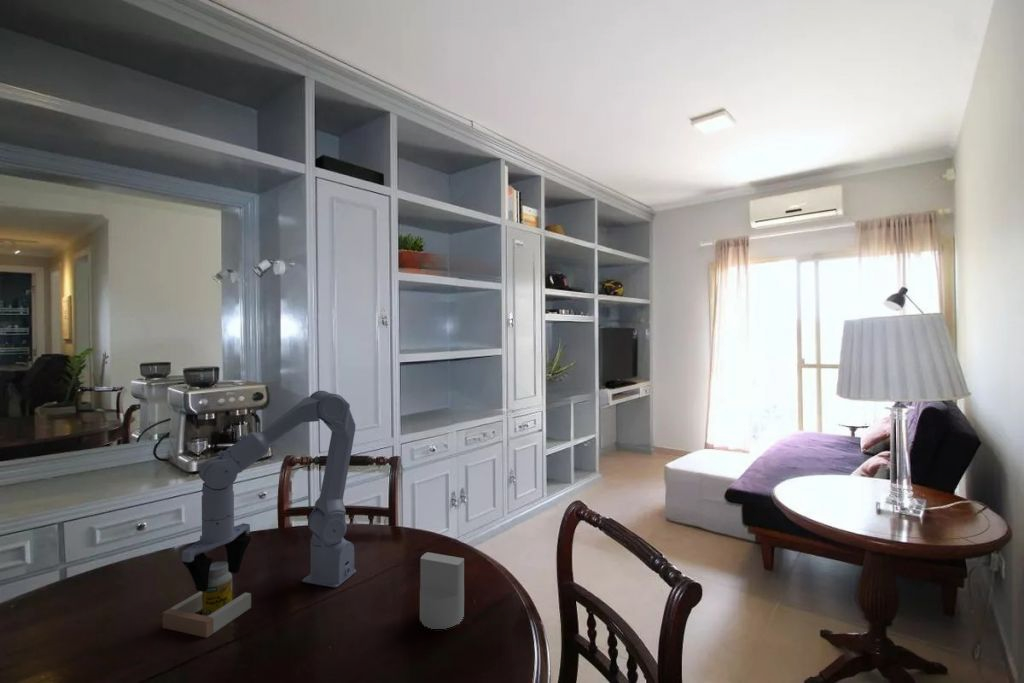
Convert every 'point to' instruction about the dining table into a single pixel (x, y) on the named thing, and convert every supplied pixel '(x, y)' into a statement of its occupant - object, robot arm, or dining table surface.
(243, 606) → the frame
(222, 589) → the supplement bottle
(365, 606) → the dining table surface
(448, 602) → the grey rounded block
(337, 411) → the robot arm
